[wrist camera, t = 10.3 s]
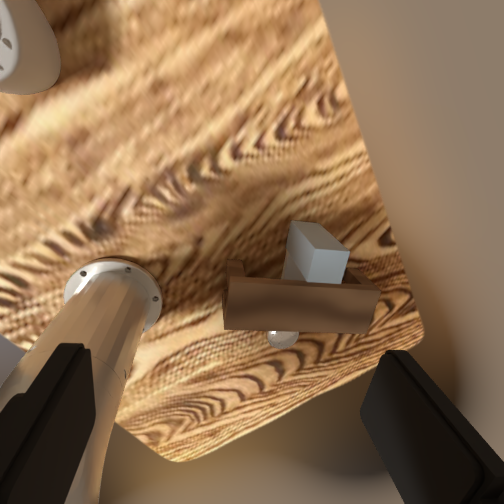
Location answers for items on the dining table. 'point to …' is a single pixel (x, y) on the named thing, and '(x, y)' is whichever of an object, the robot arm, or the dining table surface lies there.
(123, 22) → the dining table surface
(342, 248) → the grey block
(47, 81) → the lumpy-topped squat cylinder
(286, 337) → the token
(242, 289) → the stand
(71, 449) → the robot arm
